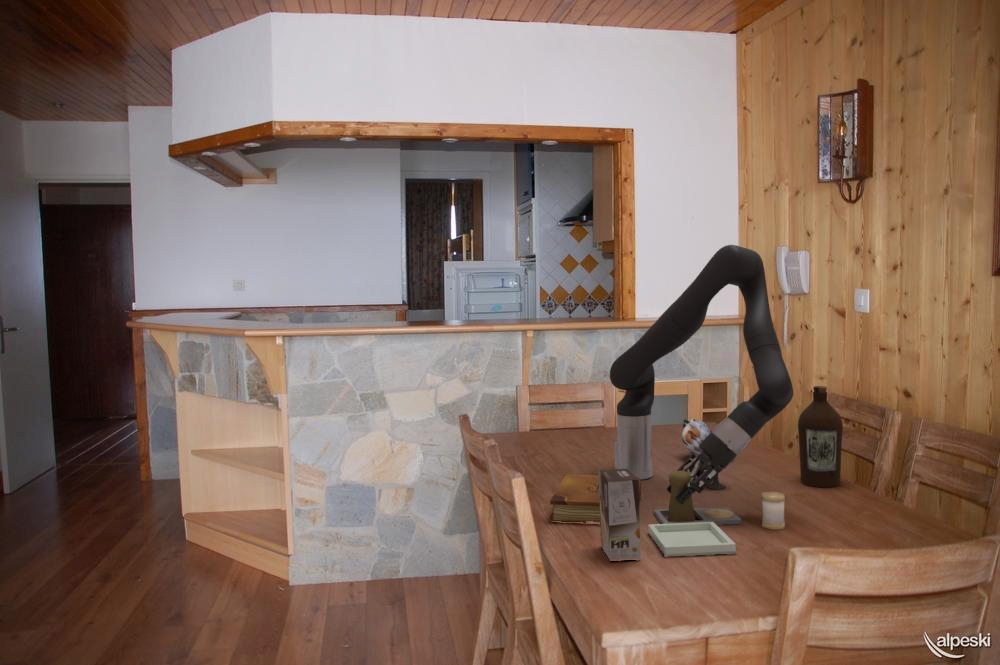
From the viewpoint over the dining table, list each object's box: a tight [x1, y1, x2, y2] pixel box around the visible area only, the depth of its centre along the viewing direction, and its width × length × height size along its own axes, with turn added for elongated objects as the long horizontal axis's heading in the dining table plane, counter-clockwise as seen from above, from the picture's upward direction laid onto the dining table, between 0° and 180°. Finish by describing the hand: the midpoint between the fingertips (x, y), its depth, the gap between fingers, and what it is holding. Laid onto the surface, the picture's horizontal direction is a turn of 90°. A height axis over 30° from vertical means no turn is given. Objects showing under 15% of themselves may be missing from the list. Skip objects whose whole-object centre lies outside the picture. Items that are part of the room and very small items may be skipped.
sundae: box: [706, 466, 727, 490], centre depth 199 cm, size 7×7×15 cm
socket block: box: [653, 506, 742, 526], centre depth 173 cm, size 17×10×1 cm, turn 92°
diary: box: [549, 474, 642, 523], centre depth 183 cm, size 23×19×6 cm
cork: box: [667, 470, 696, 522], centre depth 173 cm, size 6×6×11 cm
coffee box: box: [598, 468, 641, 560], centre depth 153 cm, size 9×6×16 cm
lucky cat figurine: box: [681, 418, 713, 456], centre depth 228 cm, size 15×12×14 cm
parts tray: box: [647, 522, 737, 557], centre depth 158 cm, size 14×14×2 cm
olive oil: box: [797, 385, 844, 488], centre depth 198 cm, size 11×11×25 cm
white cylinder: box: [761, 491, 786, 531], centre depth 167 cm, size 5×5×7 cm
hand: (673, 496), depth 173 cm, fingers open, 6 cm apart
